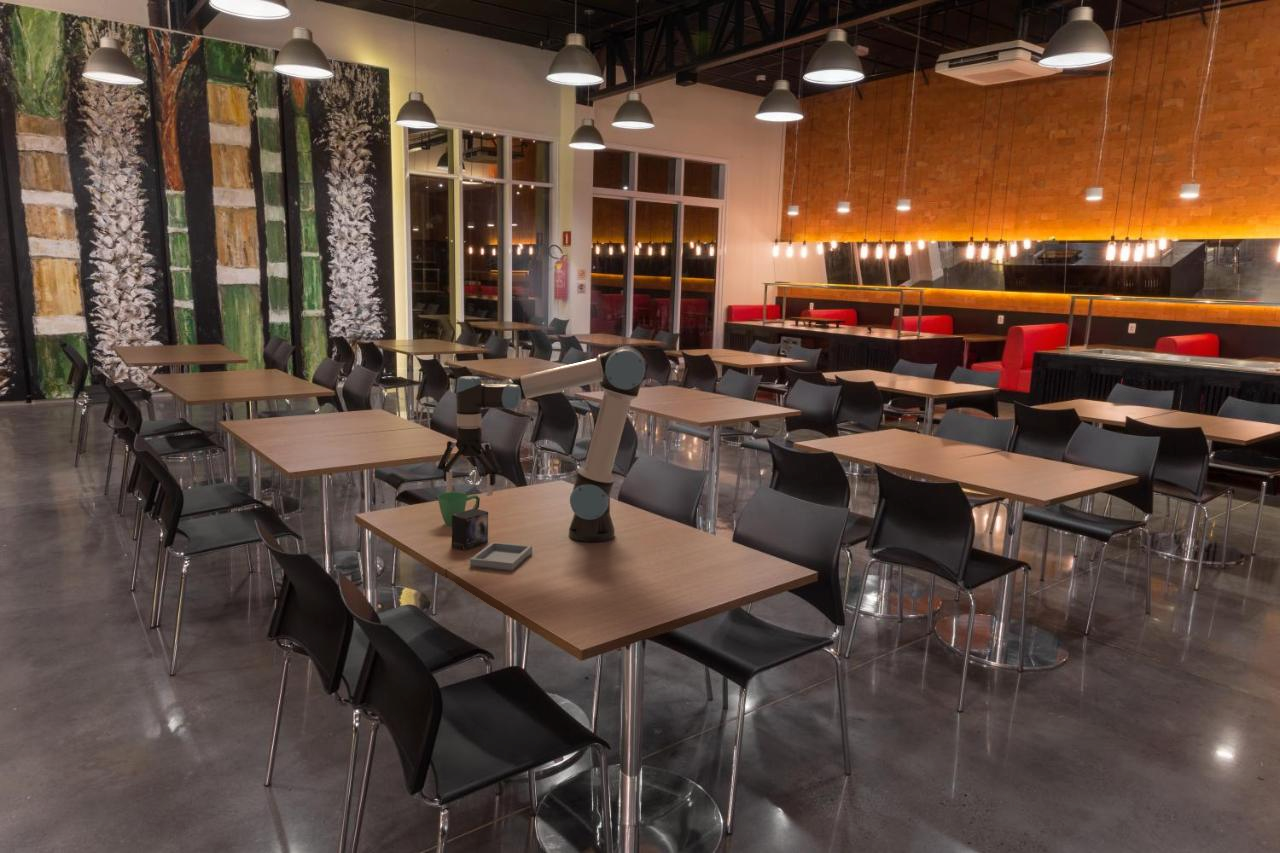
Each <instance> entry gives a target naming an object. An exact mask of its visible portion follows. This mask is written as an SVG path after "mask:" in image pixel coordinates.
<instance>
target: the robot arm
mask: <svg viewBox="0 0 1280 853" xmlns="http://www.w3.org/2000/svg"><path fill="white" fill-rule="evenodd" d="M645 374H646V362H645V357H644V356H643V353H641V352H640V350H639V349H638V348H635V347H633V346H629V345H625V346H624V345H623V346H619V347H617V348H615V349H613V350H610V351H607V352H603V353H599V354H598V355H597V357H596V358H593V359H588V360H583V361H580V362H575V363H570V364H566V365H562V366H558V367H555V368H550V369H549V368H548V369H546V370H542V371H537V372H533V373H529V374H524V375H521V376H516V377H507V378H504V379H502V380H501V381H499V383H483V382H482V378H481V377H480V376H474V375H466V376H465V375H464V376H459V377H458V378H457V379H456V390H455V394H456V426H457V428H456V441H454V440H453V439H451V440H448V441H447V442H446V448H445V450H444V453H443V455H442V456H441V459H440V461H439V463H438V465H437V469H438V470H441V471H443V481H444V482H446V483H445V484H446V487H445V488H446V491H445V493H450V492H453V470H451V469H452V468H453V466H454V465H455V464H456V462H458V460H459V459H460V458H461V457H469V458H474V457H475V458H476V459H477V460H478V461H479V463H480V464H481V465H482V467H483V468H484V469H485V470H486V472H487V474H488V475H486V494H487V495H486V496H487V497H491V496H492V495H493V494H494V492H493V491H494V489H493V486H495V485H496V475H498V474H499V473H501V472H502V468H501V466H500V463H499V461H498V460H497V457H496V455H495V452H494V451H493V447H492V445H493V444H492V443H491V442H487V443H483V442H482V439H483V438H482V436H483V435H482V427H481V426H482V409H501V410H505V409H506V410H513V409H514V410H515V409H520V406H521V404H522V403H521V402H522V400H526V399H532V398H536V397H539V396H543V395H548V394H553V393H557V392H561V391H565V390H571V389H573V388H579V387H583V386H587V385H591V384H596V383H601V384H600V385H601V386H600V388H601V390H602V391H603V396H602V399H601V403H600V407H599V411H598V414H597V417H596V418H597V419H596V422H595V425H594V429H593V433H592V437H591V441H590V443H589V448H588V452H587V454H586V455H587V456H586V459H585V462H584V463H585V464H584V466H583V467H578V468H576V469H575V473H574V485H573V488H572V492H571V493H570V496H569V504H570V507H571V510H572V512H573V517H572V520H571V522H570V525H569V527H568V528H569V529H568V536H569V538H570V539H572V540H575V541H578V542H583V543H600V542H601V543H602V542H606V541H609V540H612V539H614V538H615V534H616V533H615V532H616V531H615V526H614V523H613V520H612V517H611V493H612V489H613V486H614V481H615V479H614V477H613V475H612V472H613V468H614V464H615V460H616V457H617V453H618V450H619V446H620V442H621V439H622V435H623V431H624V429H625V424H626V420H627V416H628V412H629V410H630V406H631V402H632V400H634V399H636V398H638V396H639V392H640V388H641V385H642V381H643V379H644V377H645ZM454 448H456V449H457V452H455V454H454V455H453V457H451V459H450V455H451V454H452V453H453V450H454ZM482 449H483V451H485V454H486V456H485V455H484V452H483V451H482ZM486 457H487V458H488V459H487V458H486ZM449 459H450V460H449ZM448 460H449V462H448Z"/></svg>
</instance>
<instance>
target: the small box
mask: <svg viewBox="0 0 1280 853" xmlns="http://www.w3.org/2000/svg"><path fill="white" fill-rule="evenodd" d="M488 543H489V511H487V510H486V511H485V510H482V509H479V508H478V509H475V508H474V509H472V508H471V509H466V510H465V511H464V512H460V513H457V514H453V515H452V526H451V547H452V548H456V549H460V550H463V551H467V550H469V549H473V548H476V547H480V546H482V545H486V544H488Z"/></svg>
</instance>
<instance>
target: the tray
mask: <svg viewBox="0 0 1280 853" xmlns="http://www.w3.org/2000/svg"><path fill="white" fill-rule="evenodd" d="M531 555H533V545H525V544H517V543H516V544H515V543H506V542H499V541H497V542H496V541H492V542H491V543H489V544H488V545H487V546H485V547H484V548H482V550H480V551H479V552H477V553H476V554H475V555H474V556H472V557H471V558H470V560H469V565H470V566H469V567H470V568H474V569H483V570H484V569H485V570H493V571H494V570H495V571H503V572H504V571H505V572H511V573H512V572H514V571H515V570H516V569H517V568H518V567H519V566H520V565H522V564H523V563H524V562H525V561H527V559H528V558H529V557H530V556H531Z"/></svg>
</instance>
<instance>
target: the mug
mask: <svg viewBox="0 0 1280 853" xmlns="http://www.w3.org/2000/svg"><path fill="white" fill-rule="evenodd" d="M473 499H474V500H475V503H474V506H473V507H472V508H471V509H474V508H475V509H479V507H480V500H481V498H480V497H479V496H478V495H477V494H470V495H468V494H466V493H464V492H457V491H455V492H453V491H451V492H449V493H446V492H444V493H440V494H438V496H437V501H438V505H439V510H440V514H441V516H442V519H443V521H444V524H445V526H447V527H452V515H453V514H457V513H460V512H464V511H466V506H467V502H469V501H471V500H473Z"/></svg>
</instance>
